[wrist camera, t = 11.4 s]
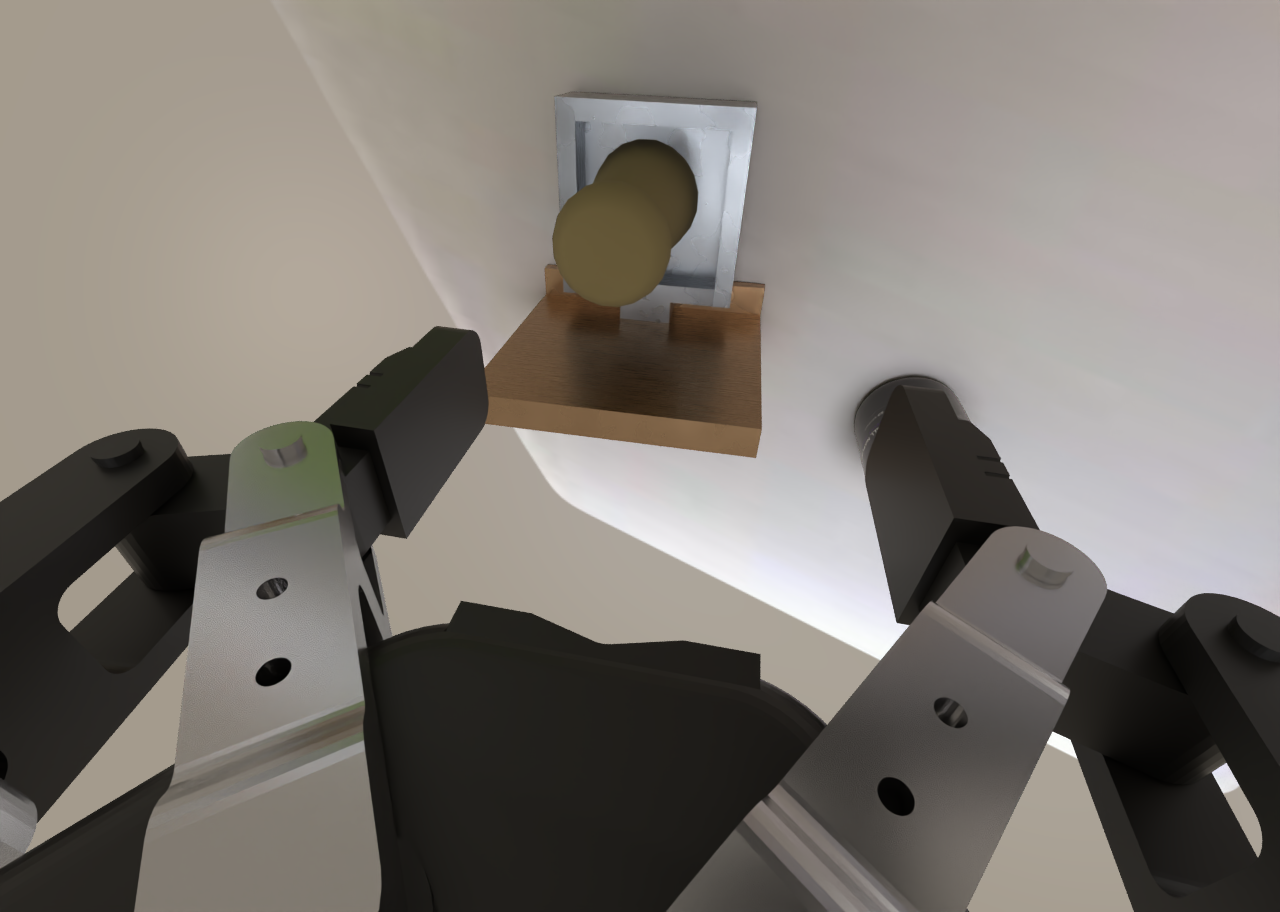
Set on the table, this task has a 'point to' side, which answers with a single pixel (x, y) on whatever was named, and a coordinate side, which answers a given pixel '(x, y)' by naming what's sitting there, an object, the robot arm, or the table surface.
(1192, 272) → the table surface
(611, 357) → the bracket
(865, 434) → the supplement bottle
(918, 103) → the table surface
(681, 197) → the olive mushroom knob
